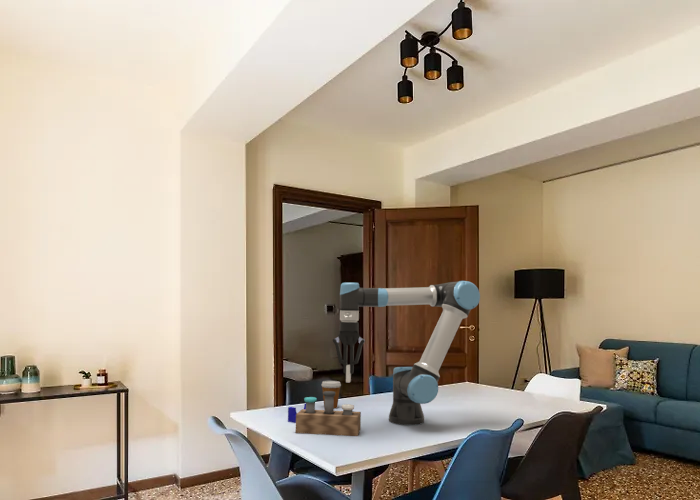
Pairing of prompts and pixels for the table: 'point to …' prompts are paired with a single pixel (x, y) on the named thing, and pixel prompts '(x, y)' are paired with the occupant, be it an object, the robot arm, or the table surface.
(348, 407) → the plug grey
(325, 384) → the disposable coffee cup
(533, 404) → the table surface
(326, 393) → the plug black
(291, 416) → the blue u-shaped block
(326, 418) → the socket block
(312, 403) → the plug teal
